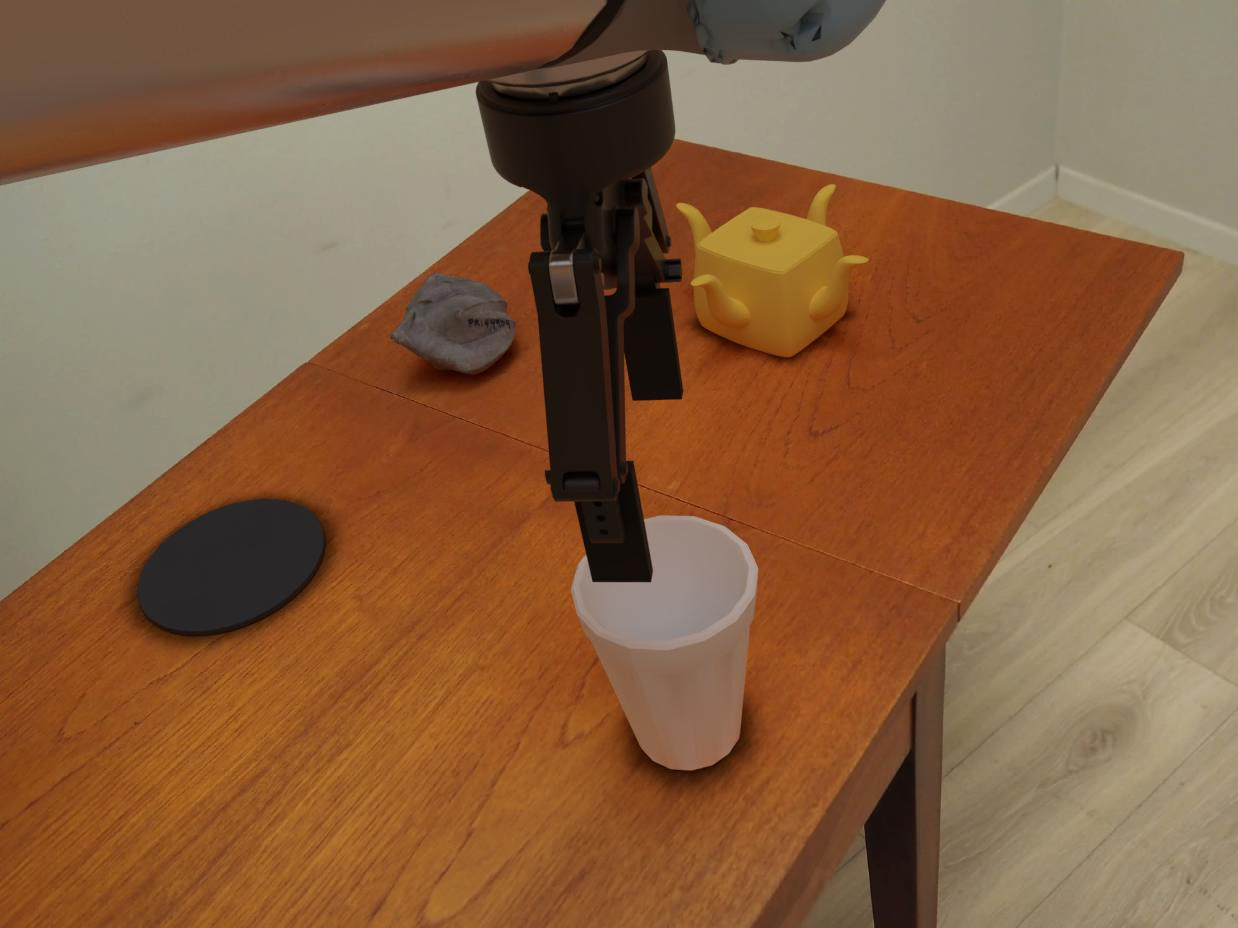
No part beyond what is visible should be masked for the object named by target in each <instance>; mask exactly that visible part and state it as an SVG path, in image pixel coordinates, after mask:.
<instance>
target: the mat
mask: <svg viewBox="0 0 1238 928" xmlns="http://www.w3.org/2000/svg"><path fill="white" fill-rule="evenodd" d="M325 551H326V536H325V532H324V529H323V526H322V524H321V522H320V520H319V519H318V517H317V516H316V515H315V514H314V513H313V512H312V511H311V510H310V509H308V508H306V507H304V506H302V505H300V504H298V503H295V502H292V501H288V500H285V499H278V498H274V499H273V498H259V499H249V500H243V501H239V502H234V503H230V504H227V505H224V506H221V507H217V508H216V509H213V510H210V511H208V512H206V513H203V514H202V515H199V516H198V517H196V518H194V519H192V520H190V521H189V522H187V523H186V524H184V525H182V526H181V527H179V528H178V529H176V531H174V532H173V533H172V534H170V535H169V536H167V538H166V539H165V540H164V541H163V542H161V544H159V546H158V547H157V548H156V549H155V550H154V551H153V552H152V554H151V555H150V557H149V558H148V559H147V561H146V562H145V564H144V566H143V567H142V570H141V573H140V576H139V578H138V583H137V593H136V594H137V601H138V603H139V606H140V608H141V610H142V612H143V613H144V615H145V616H146V618H147V619H148V620H149V621H150V622H152V624H154V625H155V626H157V627H158V628H160V629H162V630H164V631H167V632H169V633H173V634H177V635H182V636H183V635H184V636H210V635H218V634H222V633H227V632H231V631H234V630H238V629H240V628H243V627H247V626H249V625H252V624H253V623H256V622H259V621H260V620H263V619H264V618H266V617H268V616H270V615H271V614H273V613H276V611H278V610H279V609H281V608H283V607H284V606H286V605H287V604H288V603H289V602H291V601H292V600H293V599H294V598H296V596H297V595H299V594H300V593H301V592H302V591H303V590H304V589H305V588H306V587H307V585H308V584H309V583H310V582H311V580H312V579H313V578H314V576H315V575H316V573H317V572H318V569H319V568H320V566H321V563H322V561H323V559H324V555H325Z"/></svg>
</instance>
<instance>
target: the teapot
mask: <svg viewBox="0 0 1238 928" xmlns="http://www.w3.org/2000/svg"><path fill="white" fill-rule="evenodd" d="M836 188H837V185H836V184H834V183H831V184H827V185H825V186H824V187H822V188H820V190H819V191H818V192H817V193H816V194H815V195H814V197H813V200H812V202H811V203H810V207H809V209H808V212H807V215H806V218H804V217H800V216H796V215H794V214H793V215H792V214H790V213H786V212H785V213H784V212H781V211H778V210H772V209H770V208H769V209H768V208H763V207H756V206H752V207H748V208H747V209H746V210H743V212H741V213H739V214H738V215H736V216H734V217H733V218H732V219H729V220H728V221H726V222H725V223H724V224H722V225H721V226H719V227H718V228H716V229H715V230H714V231H712V229H711V227H710V225H709V223H708V221H707V220H706V218H705V216H704V215H703V214H702V213H701V211H700V210H699V209H698V208H696V207H695V206H693V205H690V204H689V203H685V202H678V203H676V204H675V208H676V209H677V210H678V212H680V213H681V214H682V215H683V217H684V218H685V219H686V221H687V223H688V224H689V228H690V230H691V234H692V239H693V240H692V241H693V246H694V254H695V256H694V266H693V279H692V280H691V281H690V285H691V286H692V287H693V305H694V311H695V314H696V317H697V319H698V321H699V324H700V325H701V327H702V328H703V329H706V330H707V331H709V332H711V333H713V334H716V335H718V336H720V337H721V338H724V339H726V340H728V341H731V342H733V343H735V344H738V345H741V346H743V347H747V348H749V349H752V350H756V351H759V352H763V353H765V354H769V355H773V356H776V357H781V358H791V357H795V355H797V354H798V353H800V352H801V351H803V350H804V349H805V348H806V347H808V346H809V345H810V344H812V343H813V342H814V341H816V340H817V339H818V338H819V337H821V336H822V335H824V333H826V332H827V331H828V330H829V329H830V328H831V327H833V326H834V325H835V324H836V323H837V322H838V321H840V320H841V319H842V318H843V317H844V316H845V314H846V312H847V308H848V305H849V304H848V303H849V297H850V295H849V293H850V291H849V290H850V289H849V288H850V287H849V286H850V278H851V275H852V274H851V273H852V272H853V269H855V268H856V267H858V266H860V265H864V264H865V263H868V262H869V258H868V257H866V256H862V255H857V254H855V255H853V254H851V255H844V251H843V248H842V243H841V240H840V235H839V232H838V231H836V229H834V228H831V227H829V226H827V213H828V212H827V211H828V206H829V203H830V200H831V198H832V196H833V194H834V192H835V190H836Z"/></svg>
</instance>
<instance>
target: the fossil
mask: <svg viewBox="0 0 1238 928" xmlns="http://www.w3.org/2000/svg"><path fill="white" fill-rule="evenodd" d="M516 332H517V322H516V320H514V319H513V318H512V317H510V316H509V315H508V302H507V301H506V300H505V299H504V297H503V296H502V295H501V294H500V293H499V292H497V291H496V290H494V289H493V288H492V287H490V286H489V285H487V284H486V283H484V282H480V281H475V280H473V279H471V278H465V277H461V276H454V275H450V274H444V273H441V272H433V273H431V274H429V275H428V276H427V277H426V279H425V280H424V281H423V283H422V284H421V286H420V287H419V288H418V289H417V290H416V292H415V293H414V294H413V296H412V297H411V299H410V300H409V302H408V303H407V306H406V308H405V314H404V316H403V318H402V319H401V322H400V323H399V324H398V325H397V326H396V328H395V329H394V330H393V331H391V333H390V340H393V342H394V343H396V344H397V345H401V346H402V347H404V348H406V350H408V351H410V352H411V353H412V354H414V355H416V356H417V357H419V358H421V359H423V360H424V361H428V362H430V363H431V365H432V367H434V368H435V369H436V370H438V371H455V372H458V373H461V374H465V375H474V376H475V375H478V374H481V373H483V372H486V370H488V369H489V368H491V367H492V366H494V364H495V363H496V362H497V361H499V360H500V359H501V358H502V356H504V355H505V354H506V352H507V351H508V350H509V349H510V347H511V346H512V343H513V341H514V338H515V335H516Z"/></svg>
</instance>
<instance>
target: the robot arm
mask: <svg viewBox="0 0 1238 928" xmlns="http://www.w3.org/2000/svg"><path fill="white" fill-rule="evenodd" d="M886 1H887V0H0V187H1V186H5V185H9V184H14V183H19V182H23V181H28V180H33V179H38V178H43V177H47V176H51V175H55V174H61V173H65V172H70V171H76V170H79V169H83V168H89V167H93V166H96V165H102V164H106V163H107V164H108V163H111V162H116V161H120V160H126V159H130V158H134V157H139V156H143V155H148V154H153V153H159V152H163V151H166V150H172V149H175V148H180V147H185V146H189V145H195V144H199V143H204V142H209V141H213V140H217V139H222V138H226V137H227V138H228V137H231V136H236V135H241V134H245V133H250V132H254V131H259V130H263V129H268V128H272V127H277V126H281V125H282V126H283V125H287V124H291V123H297V122H301V121H305V120H309V119H314V118H320V117H323V116H328V115H333V114H337V113H342V112H346V111H351V110H356V109H361V108H365V107H370V106H374V105H380V104H383V103H388V102H394V101H398V100H403V99H407V98H410V97H416V96H420V95H425V94H430V93H434V92H439V91H444V90H449V89H453V88H457V87H462V86H467V85H471V84H472V85H473V84H476V83H477V85H476V87H475V98H476V101H477V105H478V110H479V115H480V118H481V123H482V127H483V132H484V136H485V140H486V145H487V149H488V153H489V157H490V161H491V164H492V167H493V168H494V170H495V171H496V173H497V174H498V175H499V176H500V177H501V178H502V179H504V180H505V181H506V182H508V183H509V184H512V185H513V186H516V187H518V188H523V189H525V190H526V189H527V190H528V191H531V192H532V193H535V194H536V195H538V196H539V197H540V198H542V199H543V200H544V201H545V202H546V204H547V207H546V213H541V215H540V220H539V232H540V233H539V237H540V239H539V241H540V247H541V250H539V251H531V253H530V255H529V261H528V264H527V271H528V274H529V277H530V282H531V286H532V293H533V298H534V303H535V309H536V315H537V324H538V337H539V349H540V351H539V352H540V362H541V372H542V387H543V397H544V409H545V410H544V411H545V421H546V434H547V436H546V437H547V446H548V458H549V460H548V461H549V469H545V470H544V478H545V482H546V484H547V485H549V486H550V492H551V494H552V495H551V497H552V499H553V501H554V502H555V503H561V502H562V503H567V502H569V503H571V502H572V503H574V508H575V511H576V517H577V521H578V525H579V530H580V534H581V538H582V543H583V547H584V551H585V555H586V556H587V560H588V565H589V569H590V573H591V578H592V582H651V580H652V574H653V567H652V561H651V556H650V550H649V545H648V539H647V533H646V528H645V522H644V519H645V517H644V512H643V507H642V500H641V496H640V489H639V485H638V483H639V482H638V479H637V478H638V477H637V472H636V468H635V467H636V466H635V461H634V460H627V441H626V440H627V437H626V436H627V435H626V381H625V379H626V378H625V365H626V372H627V377H628V382H629V383H628V384H629V389H630V394H631V401H632V402H639V401H640V402H641V401H642V402H645V401H671V400H672V401H673V400H675V401H676V400H683V395H684V386H683V385H684V384H683V379H682V378H683V377H682V373H681V372H682V371H681V364H680V357H679V349H678V343H677V335H676V334H677V333H676V327H675V319H674V312H673V306H672V305H673V304H672V299H671V292H670V287H661V284H667V283H682V280H683V263H682V259H681V258H666V257H665V255H664V254H669V253H670V249H671V247H672V243H673V242H672V236H670V233H669V228H668V225H667V222H666V218H665V214H664V211H663V207H662V203H661V199H660V197H659V196H660V195H659V192H658V188H657V185H656V180H655V177H654V173H653V170H652V167H653V166H655V165H656V164H658V163H659V162H660V161H661V160H662V159H663V158H664V157H665V156H666V155H667V153H668V152H669V151H670V149H671V148H672V145H673V143H674V142H675V138H676V120H675V112H674V111H675V110H674V104H673V96H672V88H671V80H670V79H671V78H670V72H669V63H668V58H667V55H666V53H665V52H664V51H671V52H672V51H674V52H683V53H688V54H696V55H702V56H705V57H706V58H707V60H708V61H709V62H710V63H711V64H712V63H715V64H721V65H724V66H725V65H726V66H727V65H728V66H729V65H733V64H736V63H737V62H738V61H740V60H741V61H742V60H744V61H763V62H764V61H766V62H783V63H810V62H814V61H818V60H822V59H825V58H828V57H832V56H833V55H835V54H837V53H838V52H840V51H842V50H843V49H845V48H846V47H848V46H849V45H851V44H852V43H853V42H854V41H855V40H856V39H857V38H858V37H859V36H860V34H862V33H863V32H864V31H865V29H866V28H867V27H868V26H869V25H870V24H871V23H872V22H873V21H874V19H876V18H877V15H878V14H879V12H880V11H881V9H882V8H883V6H884V5H885V3H886ZM613 289H616V290H615V292H613V293H612V294H607V295H605V290H608V291H609V290H613Z"/></svg>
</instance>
